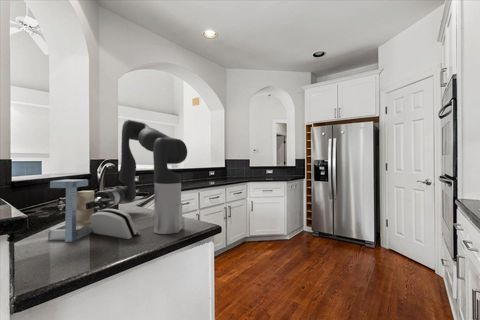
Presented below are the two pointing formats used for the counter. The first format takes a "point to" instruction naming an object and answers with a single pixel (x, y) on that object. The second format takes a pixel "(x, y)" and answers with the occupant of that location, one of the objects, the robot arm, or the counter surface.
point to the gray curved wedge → (113, 223)
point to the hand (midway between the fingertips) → (80, 206)
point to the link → (84, 207)
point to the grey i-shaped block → (69, 213)
